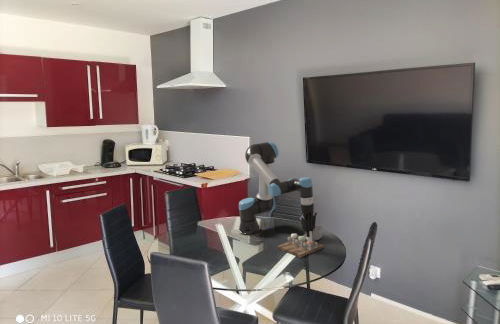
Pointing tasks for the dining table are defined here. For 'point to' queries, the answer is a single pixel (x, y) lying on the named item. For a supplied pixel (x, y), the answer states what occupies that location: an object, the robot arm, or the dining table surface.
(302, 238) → the button two
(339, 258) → the dining table surface
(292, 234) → the button one
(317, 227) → the teacup
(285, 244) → the button board
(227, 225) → the dining table surface
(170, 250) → the dining table surface
